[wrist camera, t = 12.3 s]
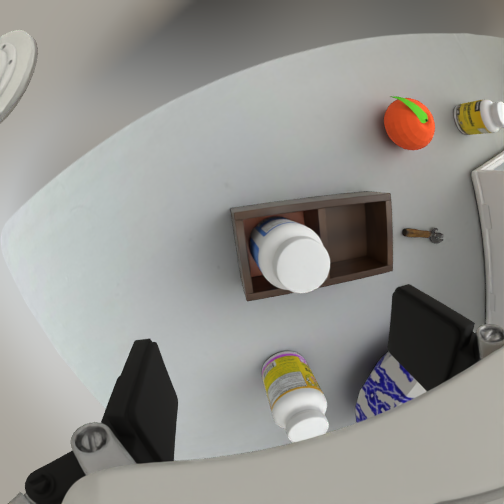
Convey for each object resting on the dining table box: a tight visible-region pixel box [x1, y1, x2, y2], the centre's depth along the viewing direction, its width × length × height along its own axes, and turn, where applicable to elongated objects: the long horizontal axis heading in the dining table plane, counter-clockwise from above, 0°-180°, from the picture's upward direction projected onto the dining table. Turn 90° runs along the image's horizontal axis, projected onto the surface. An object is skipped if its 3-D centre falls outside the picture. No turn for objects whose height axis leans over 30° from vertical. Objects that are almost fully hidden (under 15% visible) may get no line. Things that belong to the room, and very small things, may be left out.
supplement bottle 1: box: [262, 351, 329, 442], centre depth 32 cm, size 7×7×13 cm
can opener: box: [403, 228, 443, 243], centre depth 35 cm, size 9×2×1 cm, turn 80°
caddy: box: [230, 191, 393, 301], centre depth 31 cm, size 9×17×6 cm, turn 98°
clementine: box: [384, 96, 435, 150], centre depth 28 cm, size 8×7×7 cm
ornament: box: [355, 352, 427, 423], centre depth 32 cm, size 20×20×20 cm
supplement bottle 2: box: [454, 99, 504, 135], centre depth 28 cm, size 5×5×10 cm
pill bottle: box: [249, 216, 330, 293], centre depth 27 cm, size 6×6×11 cm
